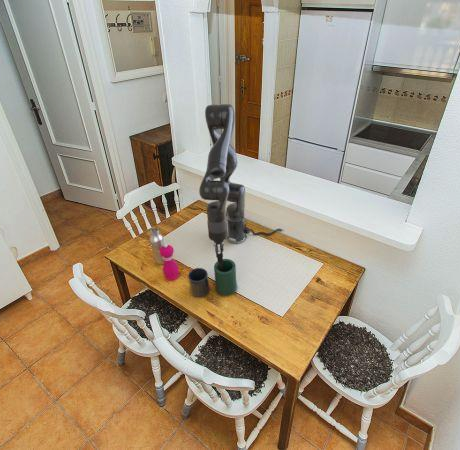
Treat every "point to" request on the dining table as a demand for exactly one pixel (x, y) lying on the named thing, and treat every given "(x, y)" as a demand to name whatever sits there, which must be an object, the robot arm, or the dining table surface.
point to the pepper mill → (169, 262)
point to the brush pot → (198, 282)
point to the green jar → (225, 277)
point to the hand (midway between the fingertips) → (220, 259)
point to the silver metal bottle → (156, 245)
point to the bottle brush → (220, 266)
